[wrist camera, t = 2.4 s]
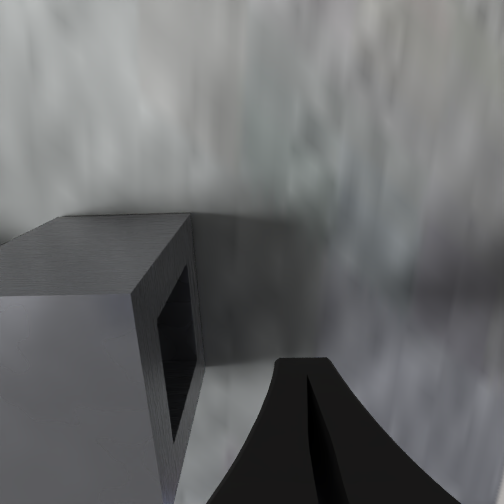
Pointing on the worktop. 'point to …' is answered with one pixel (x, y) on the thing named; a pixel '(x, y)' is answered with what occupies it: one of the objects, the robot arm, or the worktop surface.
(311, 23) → the worktop surface
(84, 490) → the grey housing block
